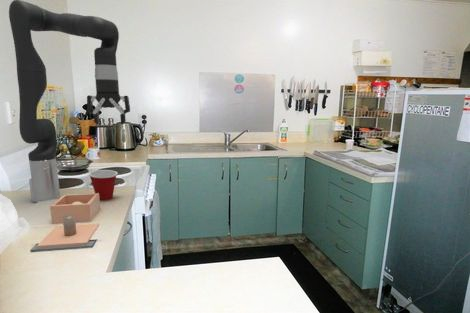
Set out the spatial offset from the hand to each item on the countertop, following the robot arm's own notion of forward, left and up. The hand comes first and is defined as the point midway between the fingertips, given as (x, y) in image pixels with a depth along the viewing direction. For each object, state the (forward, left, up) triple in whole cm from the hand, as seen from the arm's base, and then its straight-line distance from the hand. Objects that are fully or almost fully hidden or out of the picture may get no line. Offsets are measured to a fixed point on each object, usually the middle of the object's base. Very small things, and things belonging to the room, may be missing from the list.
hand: (110, 124), depth 110 cm
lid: (-8, -25, -32) cm, 41 cm away
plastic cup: (-6, +9, -32) cm, 34 cm away
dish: (-11, -9, -32) cm, 35 cm away
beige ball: (-11, -9, -31) cm, 34 cm away
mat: (-8, -25, -32) cm, 41 cm away
